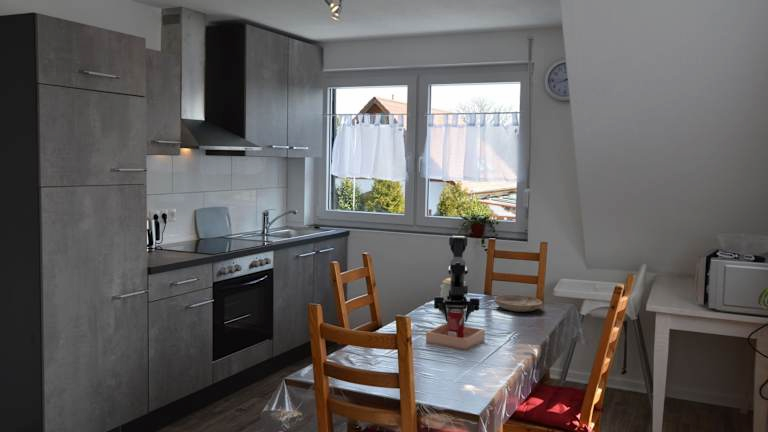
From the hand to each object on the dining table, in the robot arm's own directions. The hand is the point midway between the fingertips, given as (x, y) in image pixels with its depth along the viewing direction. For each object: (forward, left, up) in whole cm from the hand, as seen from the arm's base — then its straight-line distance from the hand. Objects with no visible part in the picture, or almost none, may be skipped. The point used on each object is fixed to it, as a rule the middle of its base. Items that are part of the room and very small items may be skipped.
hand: (456, 321), depth 281 cm
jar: (-26, +50, -9) cm, 57 cm away
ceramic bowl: (-1, +72, -9) cm, 73 cm away
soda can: (-1, +1, -8) cm, 8 cm away
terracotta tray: (-1, +1, -9) cm, 9 cm away
